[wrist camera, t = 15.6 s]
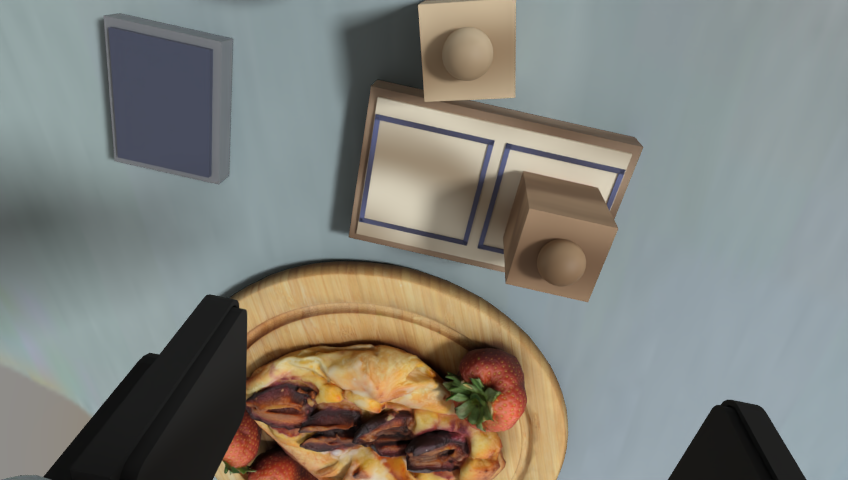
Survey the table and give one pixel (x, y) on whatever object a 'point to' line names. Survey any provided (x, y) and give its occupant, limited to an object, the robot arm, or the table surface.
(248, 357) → the wooden plate with food
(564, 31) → the table surface
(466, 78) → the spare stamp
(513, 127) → the form board
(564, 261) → the stamp
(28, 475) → the robot arm
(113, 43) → the ink pad
